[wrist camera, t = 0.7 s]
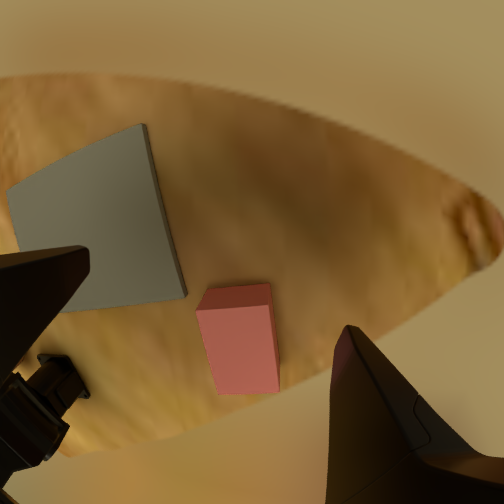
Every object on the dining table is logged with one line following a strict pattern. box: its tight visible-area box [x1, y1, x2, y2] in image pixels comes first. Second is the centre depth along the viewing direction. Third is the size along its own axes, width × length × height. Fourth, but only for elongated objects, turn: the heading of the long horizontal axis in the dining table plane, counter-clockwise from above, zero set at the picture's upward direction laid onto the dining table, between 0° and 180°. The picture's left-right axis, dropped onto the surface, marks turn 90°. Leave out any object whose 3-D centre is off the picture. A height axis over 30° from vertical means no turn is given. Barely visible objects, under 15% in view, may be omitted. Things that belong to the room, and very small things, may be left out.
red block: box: [196, 283, 280, 395], centre depth 22 cm, size 5×8×4 cm, turn 8°
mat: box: [6, 123, 188, 313], centre depth 22 cm, size 18×14×1 cm
